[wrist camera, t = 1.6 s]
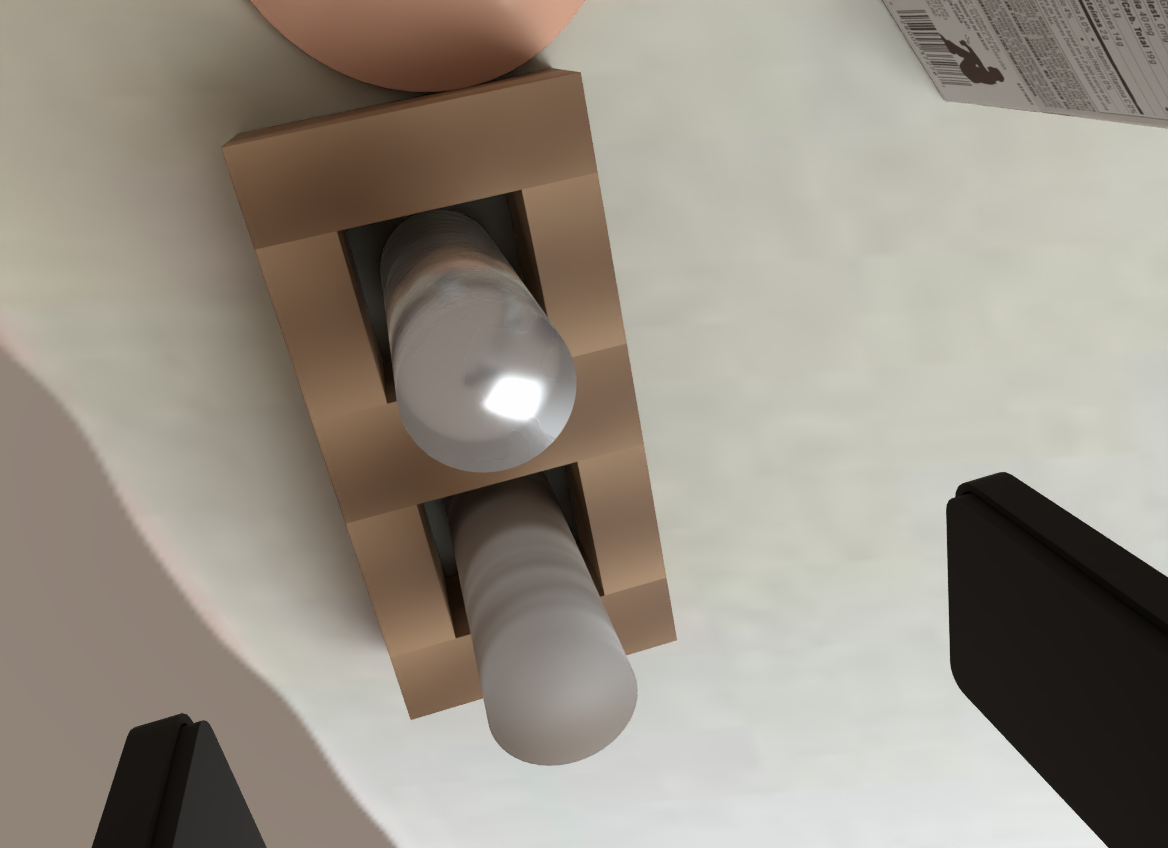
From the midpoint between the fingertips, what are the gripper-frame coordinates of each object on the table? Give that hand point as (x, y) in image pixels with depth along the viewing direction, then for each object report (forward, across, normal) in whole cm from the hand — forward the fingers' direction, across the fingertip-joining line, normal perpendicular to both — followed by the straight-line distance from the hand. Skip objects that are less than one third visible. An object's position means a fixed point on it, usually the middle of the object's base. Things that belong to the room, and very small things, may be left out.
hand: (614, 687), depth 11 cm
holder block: (+22, 0, +4) cm, 23 cm away
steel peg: (+22, 0, 0) cm, 22 cm away
